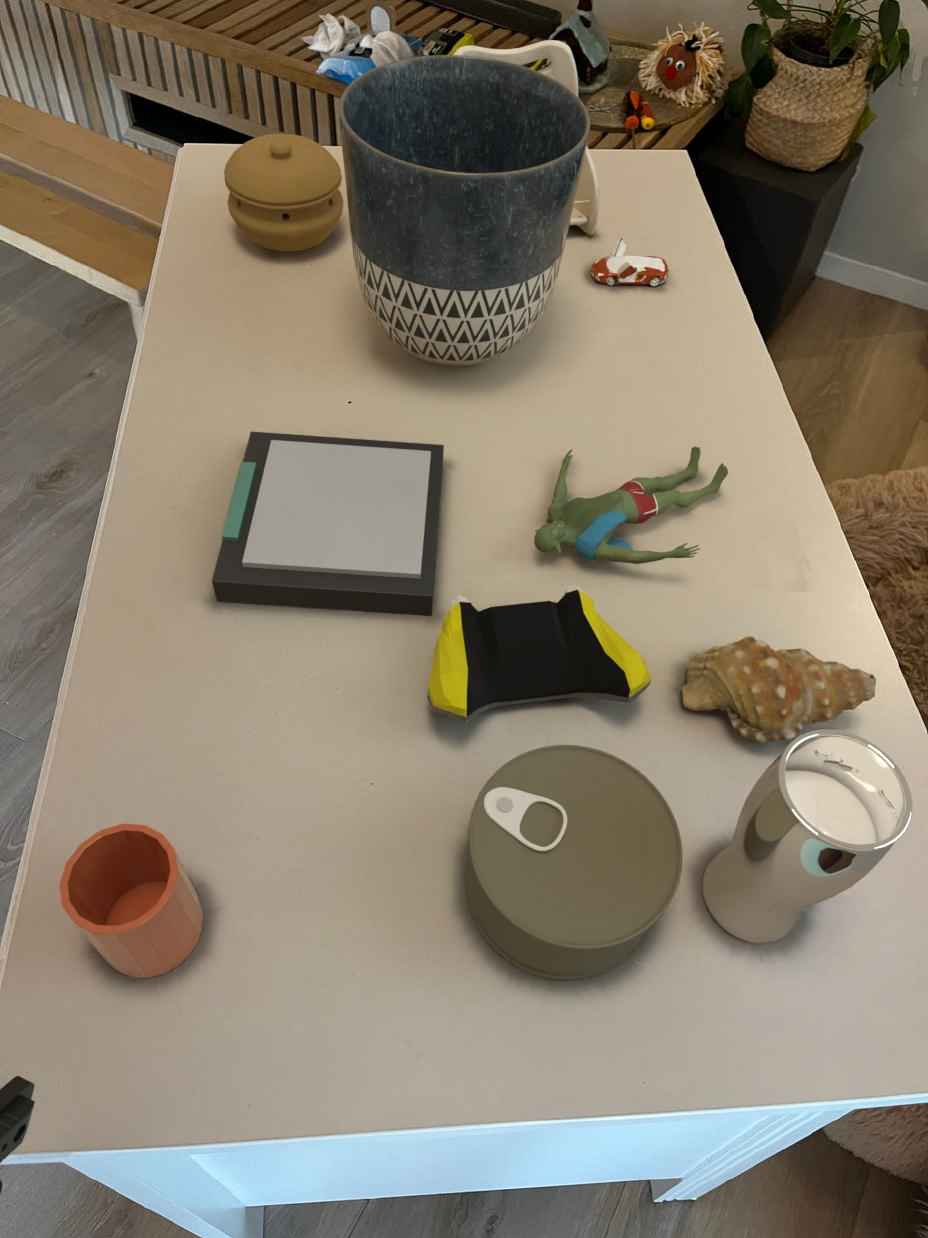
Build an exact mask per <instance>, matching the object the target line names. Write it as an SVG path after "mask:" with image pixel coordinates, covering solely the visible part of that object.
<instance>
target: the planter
mask: <svg viewBox="0 0 928 1238" xmlns="http://www.w3.org/2000/svg"><path fill="white" fill-rule="evenodd" d="M538 71H539V70H536V69H533V68H529V67H526V66H524V65H517V64H514V63H510V62H506V61H501V60H496V59H490V58H484V57H475V56H463V55H453V54H436V55H424V56H415V57H409V58H404V59H403V58H402V59H399V60H394V61H391V62H388V63H385V64H381V65H379V66H377V67H374V68H372V69H369V70H368V71H366V72H364V73H362V74H361V75H359V76H358V77H356V78H355V79H354V80H353V81H352V82H351V83H349V85H347V87H346V88H345V90H344V91H343V93H342V94H341V97H340V99H339V104H338V116H339V128H340V131H339V132H340V142H341V143H340V144H341V152H342V153H341V154H342V161H343V168H344V170H343V171H344V178H345V189H346V190H345V191H346V200H347V201H346V202H347V212H348V220H349V229H350V238H351V248H352V258H353V263H354V271H355V274H356V278H357V282H358V286H359V288H360V292H361V295H362V297H363V300H364V303H365V305H366V307H367V310H368V311H369V313H370V315H371V317H372V318H373V320H374V322H375V323H376V324H377V325H378V327H379V328H380V330H381V331H382V332H383V333H384V334H385V335H386V336H387V337H388V338H389V339H390V340H391V341H392V342H394V343H395V344H396V345H397V346H398V347H400V348H401V349H402V350H404V351H406V352H408V353H409V354H411V355H413V356H415V357H417V358H419V359H421V360H423V361H424V360H425V361H427V362H430V363H433V364H437V365H444V366H453V367H454V366H455V367H456V366H459V367H460V366H470V365H476V364H479V363H483V362H486V361H489V360H492V359H495V358H497V357H499V356H500V355H502V354H504V353H506V352H508V351H509V350H511V349H513V348H514V347H515V346H516V345H517V344H519V343H520V342H521V341H522V340H524V338H526V337H527V335H528V334H530V332H531V331H532V330H533V328H534V327H535V326H536V324H537V323H538V321H539V320H540V319H541V318H542V317H541V316H542V315H543V313H544V311H545V309H546V307H547V305H548V303H549V301H550V299H551V296H552V294H553V291H554V289H555V285H556V282H557V279H558V275H559V272H560V267H561V263H562V259H563V255H564V249H565V245H566V241H567V237H568V232H569V229H570V226H571V225H570V220H571V215H572V210H573V206H574V201H575V196H576V192H577V187H578V183H579V179H580V175H581V171H582V167H583V162H584V157H585V152H586V147H588V143H589V138H590V137H589V136H590V132H591V118H590V115H589V111H588V109H587V107H586V106H585V104H584V102H583V101H582V100H581V99H580V98H579V96H578V97H577V96H576V95H575V94H574V93H573V92H572V91H571V90H570V89H568V88H567V87H566V86H564V85H563V84H561V83H560V82H558V81H556V80H555V79H553V78H551V77H549V76H547V75H545V74H542V73H540V72H538Z"/></svg>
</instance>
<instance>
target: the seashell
mask: <svg viewBox="0 0 928 1238" xmlns="http://www.w3.org/2000/svg"><path fill="white" fill-rule="evenodd" d="M876 685H877V678H876V676H875V675H874V674H872V673H868V672H866V671H863V670H862V669H861V668H851V667H849V666H847V665H845V664H843V663H841V662H839V661H833V660H832V661H831V660H830V661H828V660H826V661H824V660H821V659H819V658H818V657H816V656H815V655H813V653H811V652H810V651H808V650H807V649H805V648H802V647H799V648H791V649H790V648H789V649H785V648H783V649H778V650H775V649H773V648H771V647H770V645H769V643H767V642H765V641H763V640H759V639H756V638H755V637H754V636H751V635H748V636H744V637H743V638H742V639H740V640H738V641H734V642H730V643H726V644H725V645H721V646H720V645H715V646H712V647H711V648H710V649H708V650H706V651H704V652H699V653H698V654H696V655H695V657H694V658H692V660H691V661H690V662H689V663H688V664H687V666H686V667H685V684H684V685H682V686H681V688H680V691H681V693H682V695H681V696H682V705H683V707H684V708H686V709H687V710H691V711H713V710H721V711H724V712H726V713H727V714H728V718H729V721H730V723H731V726H732V727H733V730H735V731H736V732H738V733H739V734H740V735H741V736H742V737H743V738H745V739H750V740H753V741H755V742H758V743H769V742H778V741H788V740H789V741H790V740H794V739H795V738H796V736H797V735H799V733H801V731H803V729H804V727H805V726H807V725H810V724H812V725H813V724H814V725H815V724H817V723H830V722H831V721H832V720H835V719H837V718H838V717H839V716H840V715H841V714H843V713H844V711H848V710H851V711H853V710H855V709H857V707H858V706H859V705H861V704H863V702H869V701H870V700H872V699H873V698H874V697H875V696H876Z"/></svg>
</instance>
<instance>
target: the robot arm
mask: <svg viewBox="0 0 928 1238" xmlns="http://www.w3.org/2000/svg"><path fill="white" fill-rule="evenodd" d="M35 1086H36V1085H35V1083H33V1082H31V1081H30V1080H29V1079H26V1078H24V1077H22V1076H20V1075H16V1076H14V1077H13V1078H11V1079H10V1080H9V1081H8V1082H7V1083H6V1084H4V1085H3V1086H2V1087H1V1088H0V1164H1V1163H2V1162H3V1161H4V1160H5V1159H7V1158H8V1156H10V1155H11V1154H12V1153H13V1152H14V1151H15V1150H16V1149H17V1148H19V1146H21V1144H22V1143H23V1142H24V1139H25V1137H26V1134H27V1132H28V1128H29V1125H30V1121H31V1117H32V1114H33V1110H34V1106H35V1102H36V1101H35V1100H33V1095H34V1091H35ZM2 1190H3V1182H2V1180H1V1179H0V1195H1V1194H2Z"/></svg>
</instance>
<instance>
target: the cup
mask: <svg viewBox="0 0 928 1238" xmlns="http://www.w3.org/2000/svg"><path fill="white" fill-rule="evenodd" d="M59 892H60V901H61V906H62V908H63V910H64V911H65V913H66V914H67V916H68V917H69V918H70V920H71V921H72V922H73V924H74V925H75V926H76V927H77V929H78V930H79V931H80V932H81V933H82V934H83V935H84V937H85V938H86V939H87V940H88V941H89V942H90V944H92V946H93V947H94V948H95V949H96V951H97V952H98V953H99V954H100V955H101V957H102V958H103V959H105V961H106V962H107V963H108V965H110V966H111V967H113V968H114V969H115V970H116V971H118V972H120V973H121V974H123V975H126V976H129V977H132V978H139V979H140V978H141V979H143V978H144V979H145V978H146V979H147V978H154V977H157V976H161V975H163V974H166V973H168V972H170V971H172V970H174V969H175V968H177V967H178V966H179V965H181V964H182V963H184V961H185V960H186V959H187V958H188V957H189V956H190V955H191V953H192V952H193V950H194V949H195V948H196V945H198V942H199V940H200V938H201V934H202V931H203V925H204V914H203V907H202V904H201V902H200V898H199V895H198V894H197V892H196V890H195V888H194V886H193V884H192V882H191V880H190V878H189V875H188V874H187V872H186V870H185V868H184V866H183V863H182V862H181V860H180V857H179V856H178V853H177V852H176V850H175V848H174V846H173V845H172V843H170V841H169V840H168V839H167V837H166V836H165V835H164V834H163V833H162V832H160V831H158V830H156V829H154V828H152V827H150V826H148V825H145V824H138V823H137V824H136V823H120V824H117V825H113V826H110V827H107V828H103V829H100V830H98V831H97V832H96V833H94V834H93V835H91V836H89V837H88V838H87V839H85V840H84V841H82V842H81V843H80V844H79V845H78V847H76V849H75V850H74V852H73V853H72V854H71V855H70V857H69V858H68V859H67V861H66V863H65V865H64V868H63V871H62V875H61V877H60V881H59Z"/></svg>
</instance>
